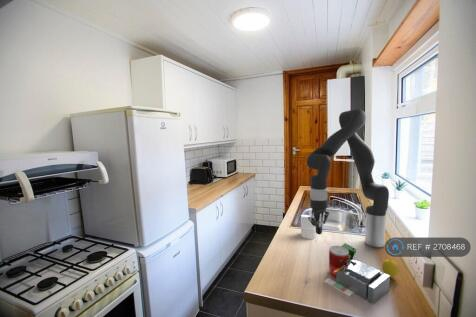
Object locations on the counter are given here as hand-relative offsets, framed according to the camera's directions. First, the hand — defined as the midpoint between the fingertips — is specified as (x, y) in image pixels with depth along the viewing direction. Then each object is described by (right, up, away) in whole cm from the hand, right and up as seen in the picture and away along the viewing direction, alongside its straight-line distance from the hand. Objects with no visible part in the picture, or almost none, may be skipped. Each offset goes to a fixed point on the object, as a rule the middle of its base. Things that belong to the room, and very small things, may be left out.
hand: (318, 233), depth 108 cm
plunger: (+8, -16, -15) cm, 23 cm away
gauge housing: (+12, -16, -15) cm, 25 cm away
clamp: (+14, -14, +4) cm, 20 cm away
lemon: (+26, -15, -10) cm, 32 cm away
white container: (+5, -11, +31) cm, 33 cm away
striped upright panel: (+2, -17, -15) cm, 23 cm away
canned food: (+6, -16, -7) cm, 18 cm away
